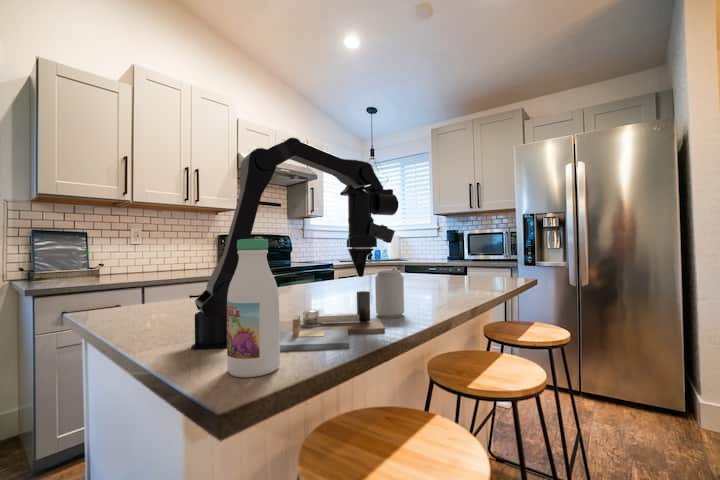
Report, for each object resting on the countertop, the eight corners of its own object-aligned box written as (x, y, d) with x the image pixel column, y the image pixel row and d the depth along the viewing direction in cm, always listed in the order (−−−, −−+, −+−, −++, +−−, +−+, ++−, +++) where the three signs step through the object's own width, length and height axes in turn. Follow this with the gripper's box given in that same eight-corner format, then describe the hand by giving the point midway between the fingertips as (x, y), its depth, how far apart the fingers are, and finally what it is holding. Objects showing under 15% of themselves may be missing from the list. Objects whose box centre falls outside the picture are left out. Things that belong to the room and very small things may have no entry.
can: (403, 312, 95) (402, 269, 95) (404, 318, 88) (403, 271, 88) (376, 312, 96) (375, 269, 96) (375, 318, 88) (374, 271, 89)
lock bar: (302, 324, 76) (301, 294, 77) (303, 320, 80) (303, 292, 80) (371, 321, 78) (370, 292, 78) (369, 318, 81) (368, 290, 81)
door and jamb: (260, 351, 62) (259, 326, 62) (278, 325, 82) (278, 306, 82) (392, 346, 64) (392, 322, 64) (378, 322, 84) (378, 303, 84)
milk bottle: (263, 357, 58) (262, 239, 59) (289, 368, 53) (288, 238, 53) (218, 370, 53) (217, 239, 53) (242, 383, 47) (241, 238, 48)
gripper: (398, 209, 77) (399, 279, 77) (386, 216, 96) (387, 273, 96) (349, 210, 77) (350, 280, 76) (346, 217, 95) (347, 273, 95)
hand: (360, 276), depth 86 cm, fingers closed
